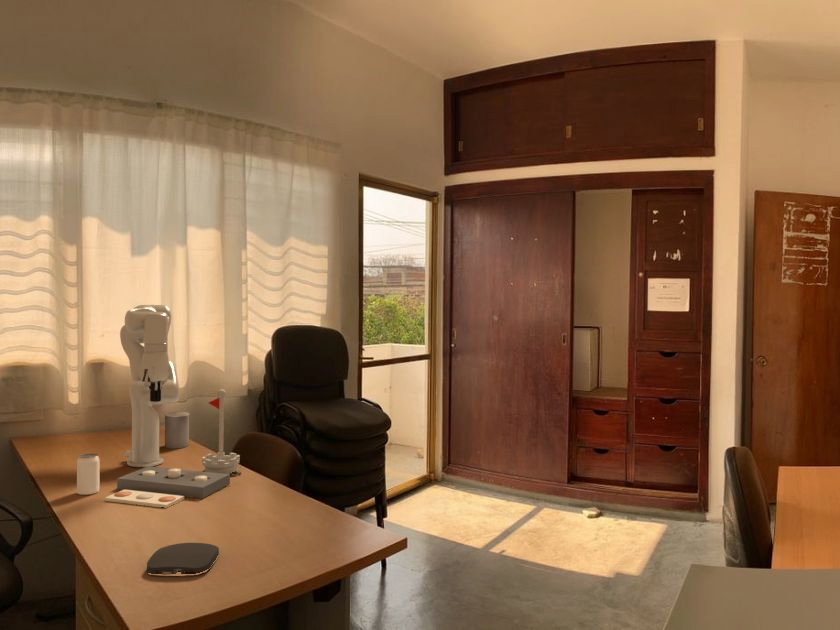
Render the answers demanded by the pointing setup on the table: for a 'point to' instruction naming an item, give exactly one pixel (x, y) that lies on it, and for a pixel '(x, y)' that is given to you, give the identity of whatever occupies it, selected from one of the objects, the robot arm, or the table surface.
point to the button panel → (173, 482)
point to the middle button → (174, 473)
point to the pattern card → (144, 498)
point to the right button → (200, 478)
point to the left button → (148, 473)
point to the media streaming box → (183, 558)
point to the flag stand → (220, 445)
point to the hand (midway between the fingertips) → (155, 401)
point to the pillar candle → (176, 430)
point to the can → (88, 474)
